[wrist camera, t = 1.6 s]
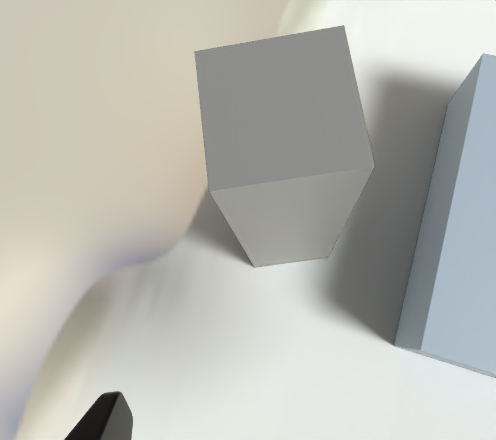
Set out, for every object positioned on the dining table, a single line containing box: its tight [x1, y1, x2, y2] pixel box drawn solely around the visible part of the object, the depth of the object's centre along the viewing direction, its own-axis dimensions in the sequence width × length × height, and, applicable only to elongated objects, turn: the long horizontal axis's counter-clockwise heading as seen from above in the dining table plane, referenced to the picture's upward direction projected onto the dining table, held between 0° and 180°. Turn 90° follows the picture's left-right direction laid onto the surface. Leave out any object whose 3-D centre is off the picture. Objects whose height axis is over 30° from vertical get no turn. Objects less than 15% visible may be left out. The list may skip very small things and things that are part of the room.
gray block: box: [195, 26, 375, 267], centre depth 17 cm, size 4×4×13 cm
